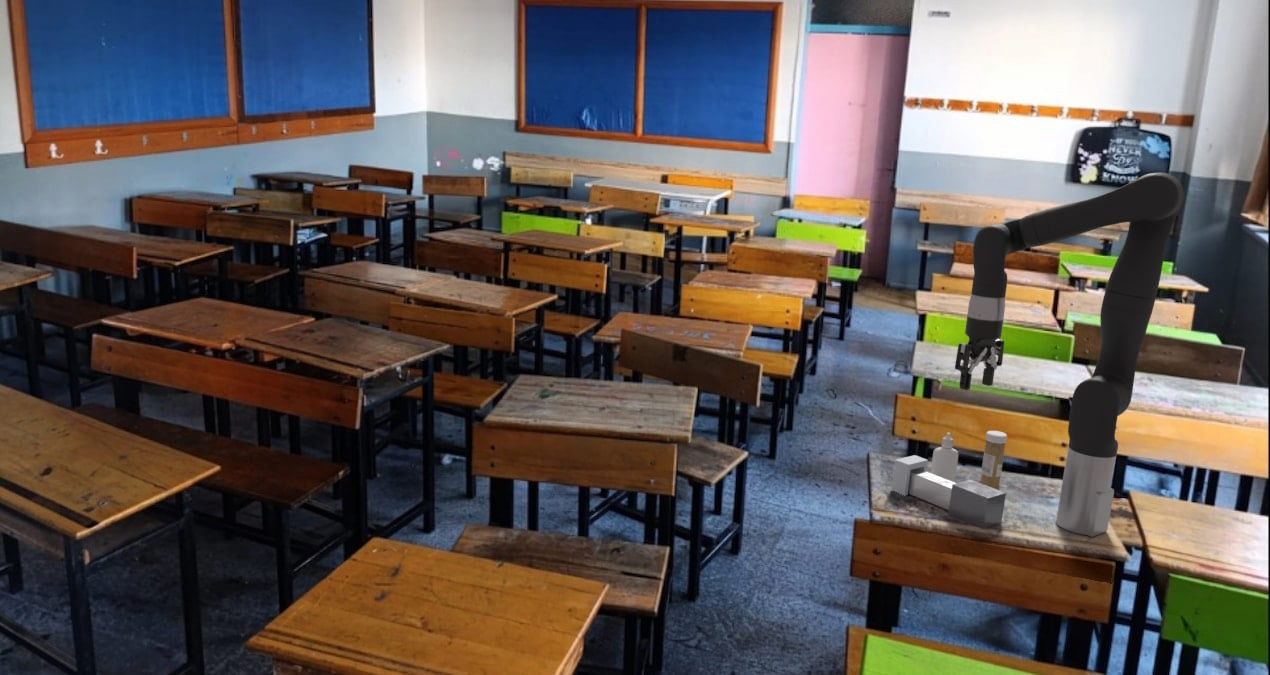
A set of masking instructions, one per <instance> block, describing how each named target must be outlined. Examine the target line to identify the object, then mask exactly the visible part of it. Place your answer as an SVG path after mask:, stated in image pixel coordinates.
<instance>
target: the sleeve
mask: <svg viewBox="0 0 1270 675" xmlns="http://www.w3.org/2000/svg"><path fill="white" fill-rule="evenodd" d="M955 483H956V484H952V491H951V498H950V505H949V510H948V514H947V515H949V516H952V517H953V518H957V519H959V520H961V521H964V522H967V523H969V524H971V525H974V526H976V527H979V528H981V529H984V530H985V529H987V528H990V527H993V526H996V525H999V524H1002V521H1003V513H1004V508H1005V503H1006V502H1005V501H1006V495H1007V492H1004V491H1002V490H999V489H998V490H997V489H994V488H991V487H989V486H986V485H983V484H981V483H980V482H978V481H975V480H973V479H967V480H964V481H960V482H955Z"/></svg>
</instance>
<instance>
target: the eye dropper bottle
mask: <svg viewBox="0 0 1270 675" xmlns="http://www.w3.org/2000/svg"><path fill="white" fill-rule="evenodd" d="M941 440H942V441H941V446H938V447H936V448H934V449H933V451H932V452H933V453H932V459H931V466H930V473H931V474H934V475H937V476H939V477H942V478H944V479H947V480H950V481H952V482H955V483H956V474H957V470H958V464H959V463H958V461H959V452H958V450H957V449H955V448H953V446H954V439H953V438H952V437H951V433H950V432H947V433H946V435H945V436H944V437H942V439H941Z"/></svg>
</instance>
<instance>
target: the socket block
mask: <svg viewBox="0 0 1270 675" xmlns="http://www.w3.org/2000/svg"><path fill="white" fill-rule="evenodd" d="M928 464H929V461H928V459H926V458H924V457H922V456H919V455H916V454H913V455H910V456H909V455H908V456H905V457H900V458H897V459H895V460H894V468H893V476H892V484H891V490H892V491H891V492H893V491H895V492H894V493H896V492H897V493H896V494H898V493H899V494H898V495H901V494H902V495H901V496H903V495H904V496H903V497H906V495H907V496H908V495H909V494H908V486H909V479H910V471H911V470H913V469H917V468H918V469H921V470H924V471H926V472H928Z"/></svg>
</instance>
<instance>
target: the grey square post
mask: <svg viewBox="0 0 1270 675" xmlns="http://www.w3.org/2000/svg"><path fill="white" fill-rule="evenodd" d="M956 483H957V482H956V481H955V482H952V481H950V480H947V479H944V478H942V477H939V476H937V475H934V474H931V472H928V471H927V472H926V471H924V470H921V469H918V468H917V469H913V470H911V471H910V479H909V486H908V494H907V495H911V496H913V497H916V498H918V499H919V500H922V501H925V502H927V503H929V504H933V505H936V506H937V507H939V508H942V509H944V510H947V511H949V505H950V498H951V491H952V484H956Z"/></svg>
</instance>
